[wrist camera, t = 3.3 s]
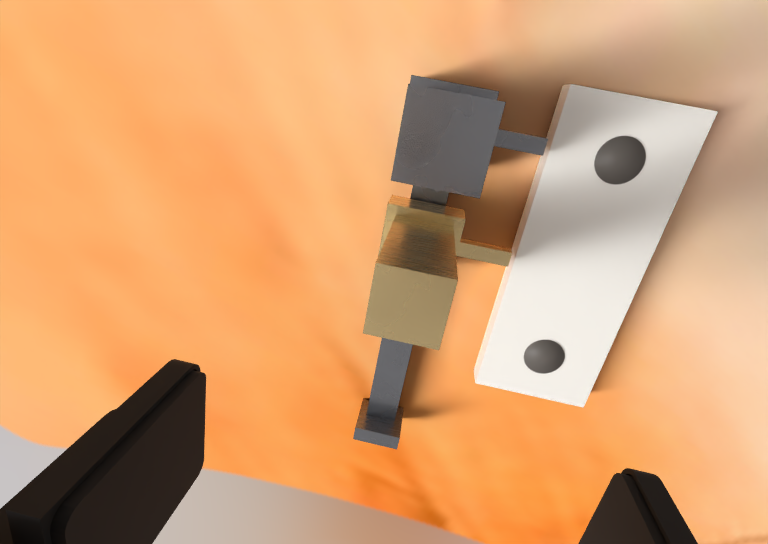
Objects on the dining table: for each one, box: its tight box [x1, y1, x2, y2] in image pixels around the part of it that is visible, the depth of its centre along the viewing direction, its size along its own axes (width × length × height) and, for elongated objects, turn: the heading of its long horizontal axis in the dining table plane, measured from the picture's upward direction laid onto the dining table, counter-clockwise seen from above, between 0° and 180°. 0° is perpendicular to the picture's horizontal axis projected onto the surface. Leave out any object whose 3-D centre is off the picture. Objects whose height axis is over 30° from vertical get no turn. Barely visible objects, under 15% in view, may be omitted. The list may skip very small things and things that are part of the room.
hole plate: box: [474, 84, 718, 407], centre depth 25 cm, size 18×7×2 cm, turn 170°
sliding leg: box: [363, 195, 512, 350], centre depth 20 cm, size 4×7×9 cm, turn 80°
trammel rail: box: [353, 75, 548, 449], centre depth 22 cm, size 22×7×11 cm, turn 170°
